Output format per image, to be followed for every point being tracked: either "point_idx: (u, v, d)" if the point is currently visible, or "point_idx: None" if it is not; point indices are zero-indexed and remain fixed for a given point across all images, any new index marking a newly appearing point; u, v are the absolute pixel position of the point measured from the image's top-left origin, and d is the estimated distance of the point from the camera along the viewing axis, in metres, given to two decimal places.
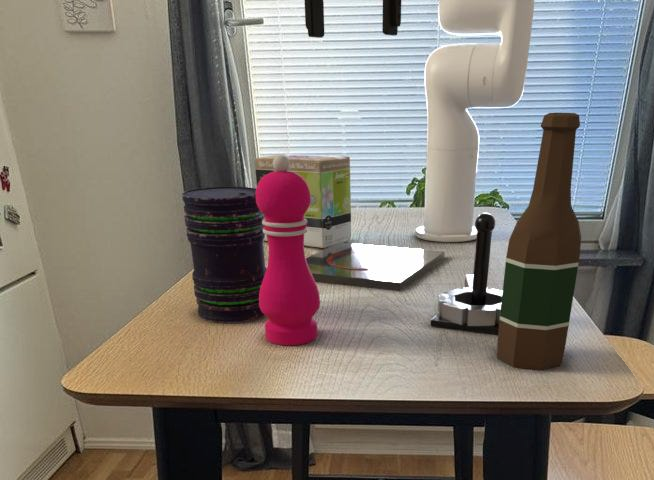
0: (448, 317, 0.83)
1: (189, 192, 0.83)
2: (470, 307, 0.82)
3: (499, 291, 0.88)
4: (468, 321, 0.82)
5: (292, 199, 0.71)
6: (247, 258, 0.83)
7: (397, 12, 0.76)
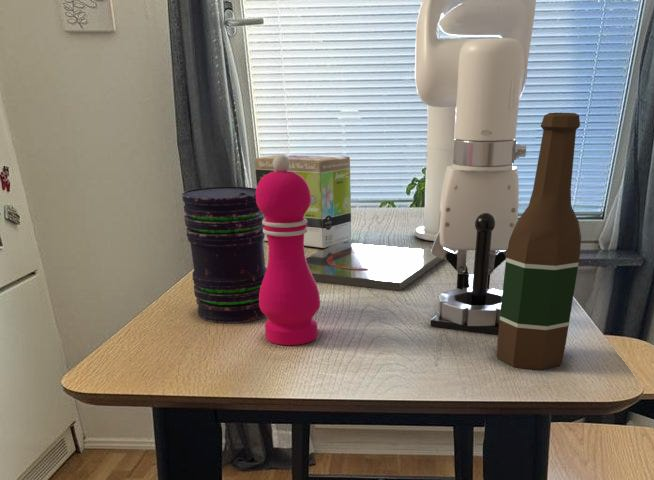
0: (448, 317, 0.83)
1: (189, 192, 0.83)
2: (470, 307, 0.82)
3: (499, 291, 0.88)
4: (468, 321, 0.82)
5: (292, 199, 0.71)
6: (247, 258, 0.83)
7: (488, 286, 0.92)
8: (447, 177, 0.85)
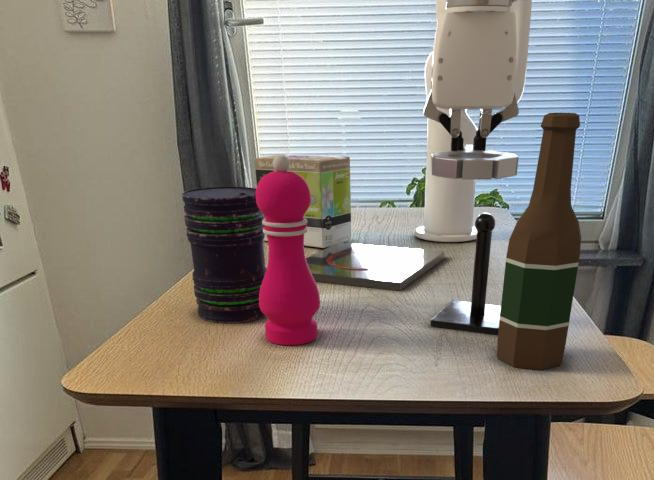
0: (441, 172, 0.77)
1: (189, 192, 0.83)
2: (465, 159, 0.76)
3: (496, 151, 0.82)
4: (463, 174, 0.76)
5: (292, 199, 0.71)
6: (247, 258, 0.83)
7: None
8: (440, 23, 0.79)
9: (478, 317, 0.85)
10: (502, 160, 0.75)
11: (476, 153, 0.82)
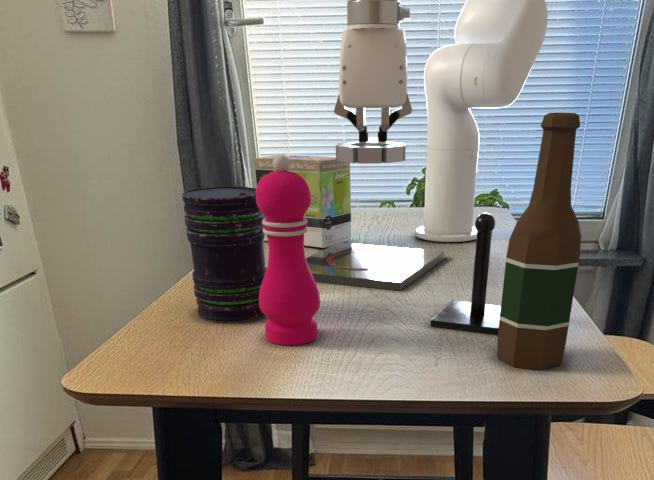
0: (342, 158, 0.95)
1: (189, 192, 0.83)
2: (360, 147, 0.93)
3: (392, 142, 0.99)
4: (358, 159, 0.93)
5: (292, 199, 0.71)
6: (247, 258, 0.83)
7: None
8: (342, 38, 0.96)
9: (478, 317, 0.85)
10: (389, 148, 0.93)
11: (375, 143, 0.99)
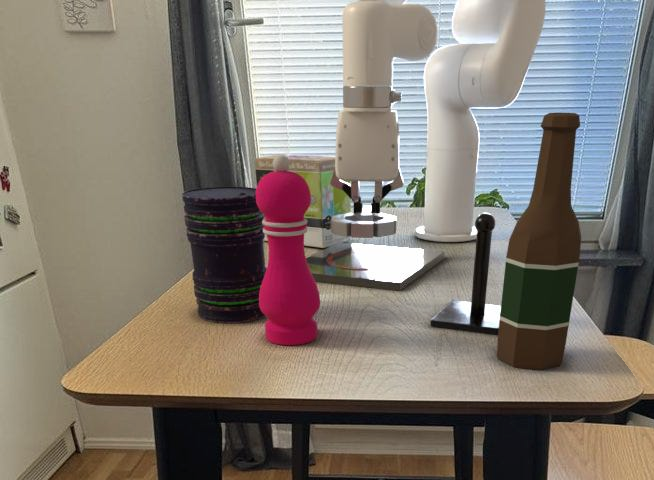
0: (336, 231, 1.01)
1: (189, 192, 0.83)
2: (353, 222, 1.00)
3: (384, 214, 1.06)
4: (351, 233, 1.00)
5: (292, 199, 0.71)
6: (247, 258, 0.83)
7: None
8: (338, 118, 1.03)
9: (478, 317, 0.85)
10: (381, 223, 0.99)
11: (368, 215, 1.06)
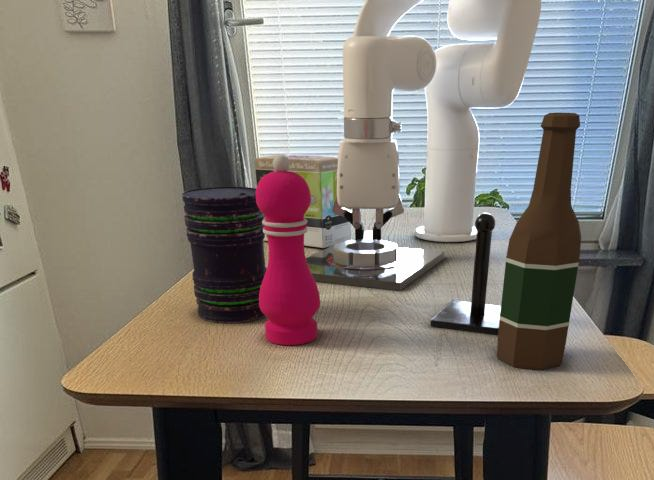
0: (339, 260, 1.04)
1: (189, 192, 0.83)
2: (355, 251, 1.02)
3: (385, 241, 1.08)
4: (353, 263, 1.02)
5: (292, 199, 0.71)
6: (247, 258, 0.83)
7: (380, 239, 1.13)
8: (339, 148, 1.05)
9: (478, 317, 0.85)
10: (382, 253, 1.02)
11: (370, 242, 1.08)
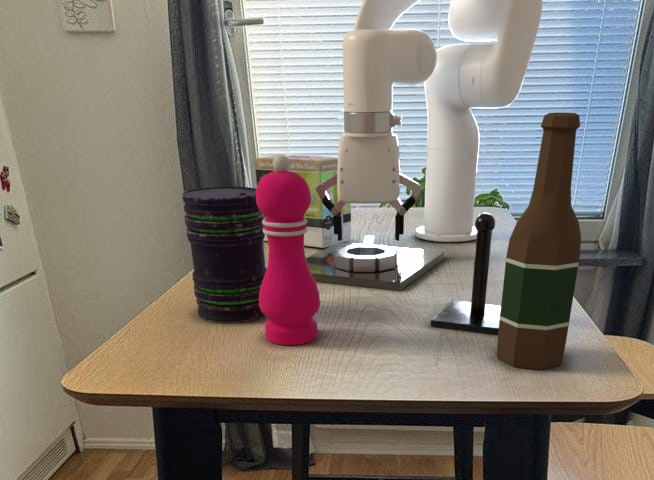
0: (339, 265, 1.04)
1: (189, 192, 0.83)
2: (355, 256, 1.03)
3: (385, 246, 1.08)
4: (354, 268, 1.02)
5: (292, 199, 0.71)
6: (247, 258, 0.83)
7: (403, 226, 1.11)
8: (340, 143, 1.05)
9: (478, 317, 0.85)
10: (382, 258, 1.02)
11: (370, 247, 1.08)
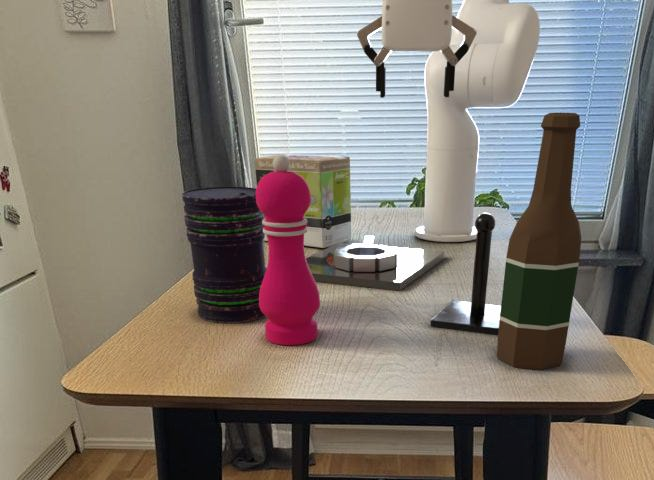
0: (339, 265, 1.04)
1: (189, 192, 0.83)
2: (355, 256, 1.03)
3: (385, 246, 1.08)
4: (354, 268, 1.02)
5: (292, 199, 0.71)
6: (247, 258, 0.83)
7: (454, 80, 1.00)
8: None
9: (478, 317, 0.85)
10: (382, 258, 1.02)
11: (370, 247, 1.08)
